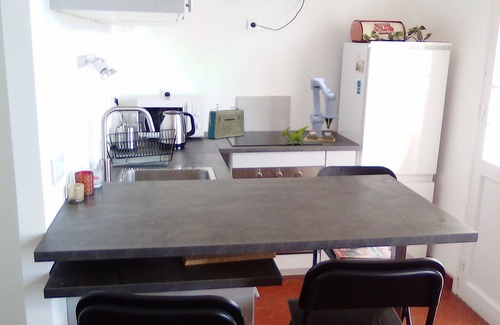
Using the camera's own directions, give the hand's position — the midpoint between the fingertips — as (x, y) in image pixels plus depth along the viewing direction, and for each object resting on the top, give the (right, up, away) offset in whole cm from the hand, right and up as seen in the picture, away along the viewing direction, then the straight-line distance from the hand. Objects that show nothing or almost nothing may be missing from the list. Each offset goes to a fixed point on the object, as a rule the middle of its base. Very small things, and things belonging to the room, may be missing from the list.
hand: (328, 128), depth 348 cm
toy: (-26, -12, -15) cm, 32 cm away
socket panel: (-6, -8, +3) cm, 11 cm away
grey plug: (0, -6, +1) cm, 6 cm away
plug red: (-11, -5, +3) cm, 12 cm away
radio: (-74, -6, +8) cm, 75 cm away
